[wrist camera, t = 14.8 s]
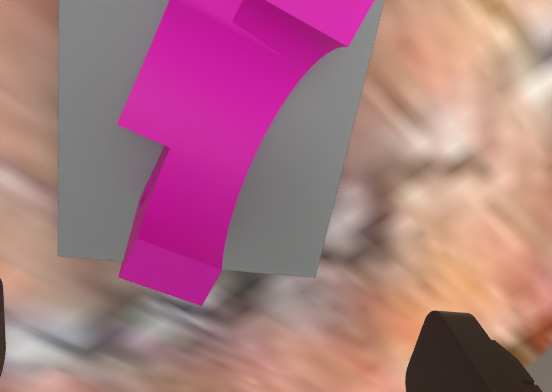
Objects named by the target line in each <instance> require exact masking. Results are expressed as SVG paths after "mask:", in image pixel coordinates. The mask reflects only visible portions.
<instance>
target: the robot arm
mask: <svg viewBox="0 0 552 392" xmlns="http://www.w3.org/2000/svg"><path fill="white" fill-rule="evenodd" d="M5 351H6V341H5V319H4V297H3V284H2V281H1V279H0V376H1V373H2V369H3V365H4V360H5ZM405 383H406V392H542V390H541V389H540V388H539V387H538V385H534V380H533V379H532V377H531V376H530V375H529V373H528V372H527V371H526V369H525V368H524V367H523V365H522V364H521V363H520V362H519V360H518V359H517V358H516V357H514V356H513V355H512V354H511V353H509V352H508V351H507V350H506V349H505V348H503V347H502V346H501V345H500V344H498V343H497V342H496V341H495V340H491V339H490V338H489V336H488V335H487V334H486V332H485V331H484V329H483V328H482V327H481V325H480V324H479V323H478V321H477V320H476V319H475V317H474V316H473V315H471V314H469V313H459V312H446V311H431V312H430V313H429V314H428V315H427V317H426V319H425V321H424V324H423V327H422V329H421V332H420V335H419V337H418V340H417V343H416V345H415V348H414V351H413V354H412V356H411V359H410V362H409V364H408V367H407V371H406V380H405Z"/></svg>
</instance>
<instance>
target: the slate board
mask: <svg viewBox="0 0 552 392" xmlns="http://www.w3.org/2000/svg"><path fill="white" fill-rule="evenodd" d="M384 1H385V0H375V1H374V3H373V4H372V6H371V8H370V10H369V11H368V13H367V15H366V17H365V18H364V20H363V22H362V24H361V26H360V27H359V29H358V31H357V33H356V34H355V36H354V38H353V40H352V41H351V43H350V45H349V47H340V48H337V49H335V50H332V51H331V52H329V53H328V54H326V55H325V56H323V57H322V58H321V59H320V60H319V61H318V62H316V63H315V64H314V65H313V66H312V67H311V68H310V69H309V71H308V72H307V73H306V74H305V75H304V76H303V77H302V79H301V80H300V81H299V82H298V84H297V85H296V86H295V88H294V89H293V90H292V92H291V93H290V95H289V96H288V97H287V99H286V101H285V102H284V104H283V105H282V107H281V108H280V110H279V111H278V113H277V115H276V116H275V118H274V120H273V122H272V123H271V125H270V127H269V129H268V131H267V132H266V134H265V136H264V138H263V140H262V142H261V144H260V146H259V148H258V150H257V152H256V154H255V156H254V159H253V161H252V163H251V165H250V168H249V170H248V172H247V175H246V177H245V180H244V182H243V185H242V188H241V190H240V193H239V196H238V199H237V202H236V205H235V208H234V211H233V214H232V218H231V221H230V225H229V229H228V233H227V238H226V242H225V248H224V254H223V263H222V270H229V271H241V272H253V273H265V274H277V275H289V276H301V277H313V278H315V277H316V273H317V269H318V265H319V261H320V257H321V253H322V249H323V245H324V241H325V237H326V233H327V229H328V225H329V221H330V217H331V213H332V209H333V205H334V201H335V197H336V193H337V189H338V185H339V181H340V177H341V173H342V169H343V165H344V161H345V157H346V153H347V149H348V145H349V141H350V137H351V133H352V129H353V125H354V121H355V117H356V113H357V109H358V105H359V101H360V97H361V93H362V89H363V85H364V81H365V77H366V73H367V69H368V65H369V61H370V57H371V53H372V49H373V45H374V41H375V37H376V33H377V29H378V25H379V21H380V17H381V13H382V9H383V5H384ZM168 2H169V0H59V91H58V256H62V257H74V258H86V259H98V260H110V261H122V262H123V258H124V255H125V251H126V247H127V244H128V240H129V236H130V233H131V229H132V225H133V222H134V218H135V214H136V211H137V207H138V203H139V199H140V197H141V195H142V193H143V191H144V188H145V186H146V184H147V182H148V180H149V178H150V176H151V174H152V171H153V169H154V167H155V165H156V163H157V161H158V159H159V156H160V154H161V152H162V150H163V148H164V145H162V144H160V143H158V142H155V141H153V140H151V139H148V138H146V137H144V136H142V135H139V134H137V133H135V132H132V131H130V130H128V129H126V128H123V127H121V126H119V125H117V123H118V120H119V118H120V116H121V114H122V111H123V109H124V107H125V104H126V102H127V100H128V98H129V95H130V93H131V91H132V88H133V86H134V84H135V81H136V79H137V77H138V74H139V72H140V70H141V67H142V65H143V63H144V60H145V58H146V56H147V53H148V51H149V48H150V46H151V44H152V41H153V39H154V36H155V34H156V32H157V29H158V27H159V24H160V22H161V20H162V17H163V15H164V12H165V10H166V7H167V5H168Z"/></svg>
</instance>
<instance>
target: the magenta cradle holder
mask: <svg viewBox="0 0 552 392" xmlns="http://www.w3.org/2000/svg"><path fill="white" fill-rule="evenodd" d="M374 1H375V0H169V2H168V5H167V7H166V10H165V12H164V15H163V17H162V20H161V22H160V24H159V27H158V29H157V32H156V34H155V36H154V39H153V41H152V44H151V46H150V48H149V51H148V53H147V56H146V58H145V60H144V63H143V65H142V67H141V70H140V72H139V74H138V77H137V79H136V81H135V84H134V86H133V88H132V91H131V93H130V95H129V98H128V100H127V102H126V104H125V107H124V109H123V111H122V114H121V116H120V118H119V120H118V123H117V125H119V126H121V127H123V128H126V129H128V130H130V131H132V132H135V133H137V134H139V135H142V136H144V137H146V138H148V139H151V140H153V141H155V142H158V143H160V144H162V145H164V148H163V150H162V152H161V154H160V156H159V159H158V161H157V163H156V165H155V167H154V169H153V171H152V174H151V176H150V178H149V180H148V182H147V184H146V186H145V188H144V191H143V193H142V195H141V197H140V199H139V203H138V207H137V211H136V214H135V218H134V222H133V225H132V229H131V233H130V236H129V240H128V244H127V247H126V251H125V255H124V258H123V262H122V266H121V269H120V273H119V278H122V279H125V280H128V281H131V282H134V283H137V284H139V285H142V286H145V287H148V288H151V289H154V290H157V291H160V292H163V293H165V294H168V295H171V296H174V297H177V298H180V299H183V300H186V301H189V302H191V303H194V304H197V305H200V306H202V305H203V303H204V301H205V299H206V298H207V296H208V294H209V292H210V291H211V289H212V287H213V285H214V283H215V282H216V280H217V278H218V276H219V275H220V273H221V271H222V263H223V254H224V248H225V242H226V238H227V233H228V229H229V225H230V221H231V218H232V214H233V211H234V208H235V205H236V202H237V199H238V196H239V193H240V190H241V188H242V185H243V182H244V180H245V177H246V175H247V172H248V170H249V168H250V165H251V163H252V161H253V159H254V156H255V154H256V152H257V150H258V148H259V146H260V144H261V142H262V140H263V138H264V136H265V134H266V132H267V131H268V129H269V127H270V125H271V123H272V122H273V120H274V118H275V116H276V115H277V113H278V111H279V110H280V108H281V107H282V105H283V104H284V102H285V101H286V99H287V97H288V96H289V95H290V93H291V92H292V90H293V89H294V88H295V86H296V85H297V84H298V82H299V81H300V80H301V79H302V77H303V76H304V75H305V74H306V73H307V72H308V71H309V69H310V68H311V67H312V66H313V65H314V64H315V63H316V62H318V61H319V60H320V59H321V58H322V57H323V56H325V55H326V54H328V53H329V52H331V51H332V50H335V49H337V48H340V47H349V45H350V43H351V41H352V40H353V38H354V36H355V34H356V33H357V31H358V29H359V27H360V26H361V24H362V22H363V20H364V18H365V17H366V15H367V13H368V11H369V10H370V8H371V6H372V4H373V3H374Z"/></svg>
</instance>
